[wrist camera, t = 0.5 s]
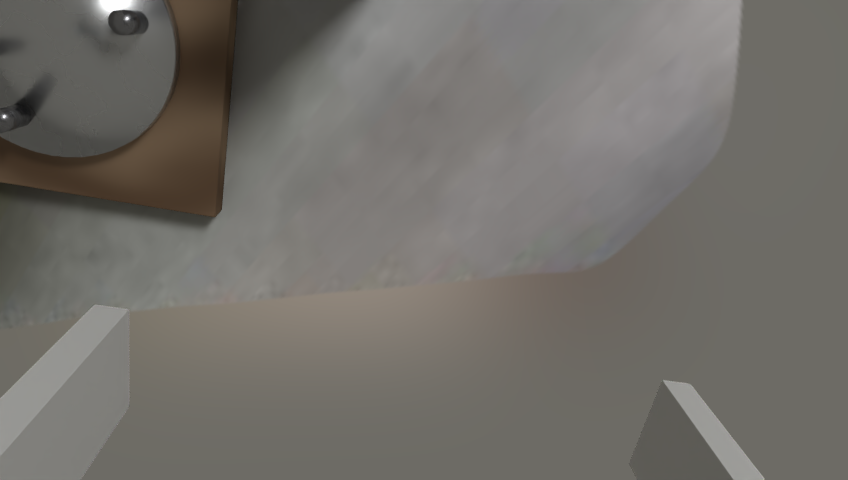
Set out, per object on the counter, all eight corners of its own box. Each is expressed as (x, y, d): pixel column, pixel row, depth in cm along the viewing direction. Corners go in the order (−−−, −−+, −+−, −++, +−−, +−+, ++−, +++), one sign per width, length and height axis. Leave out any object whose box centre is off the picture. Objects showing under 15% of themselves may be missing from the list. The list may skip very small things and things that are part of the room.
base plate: (-119, -188, 29) (-146, -199, 28) (246, -105, 31) (239, -111, 30) (-81, 159, 35) (-101, 165, 34) (221, 209, 37) (215, 217, 36)
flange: (-83, -127, 29) (-134, -142, 26) (186, -68, 30) (165, -77, 27) (-59, 131, 33) (-100, 141, 30) (175, 171, 35) (156, 184, 32)
